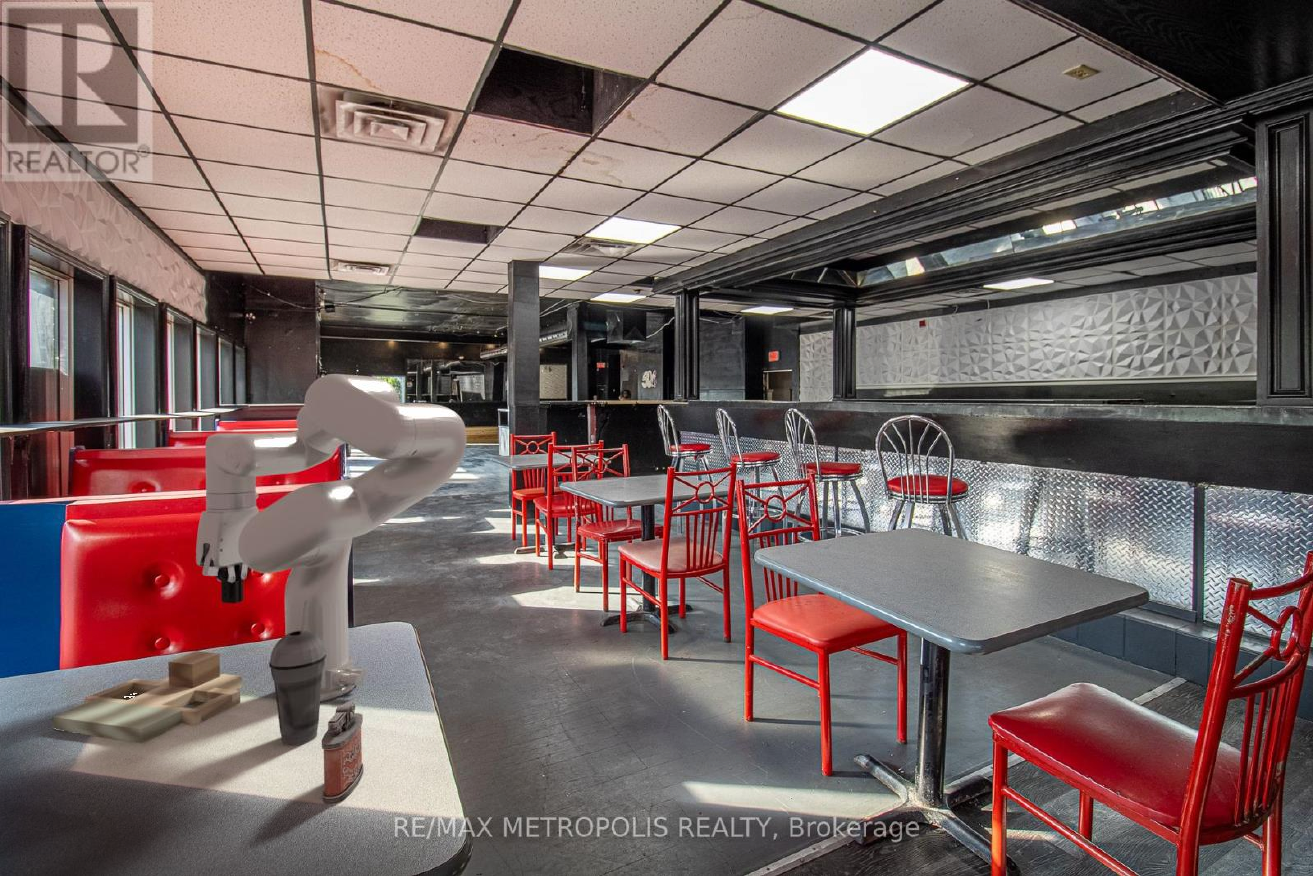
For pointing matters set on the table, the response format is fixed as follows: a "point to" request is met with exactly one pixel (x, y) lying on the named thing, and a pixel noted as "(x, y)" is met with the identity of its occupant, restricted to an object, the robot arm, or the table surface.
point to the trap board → (149, 708)
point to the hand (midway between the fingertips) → (232, 601)
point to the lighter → (342, 754)
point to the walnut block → (194, 669)
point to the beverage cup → (298, 683)
